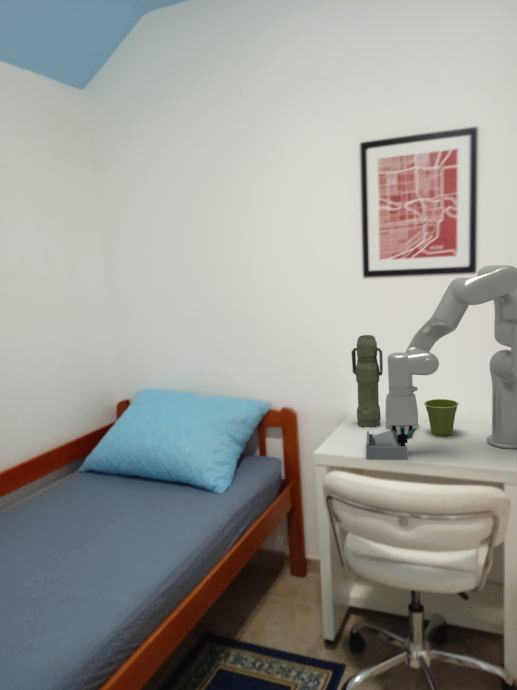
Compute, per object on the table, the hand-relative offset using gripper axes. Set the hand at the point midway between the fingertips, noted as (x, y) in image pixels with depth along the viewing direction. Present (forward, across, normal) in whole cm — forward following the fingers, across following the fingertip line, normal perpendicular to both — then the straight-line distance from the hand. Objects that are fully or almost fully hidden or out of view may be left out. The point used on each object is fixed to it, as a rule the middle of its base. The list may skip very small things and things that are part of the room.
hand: (402, 444), depth 178 cm
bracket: (+3, -2, -23) cm, 23 cm away
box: (+3, +5, -1) cm, 6 cm away
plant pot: (+3, -15, -21) cm, 26 cm away
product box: (+2, +4, +1) cm, 4 cm away
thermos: (+3, +11, -32) cm, 34 cm away
